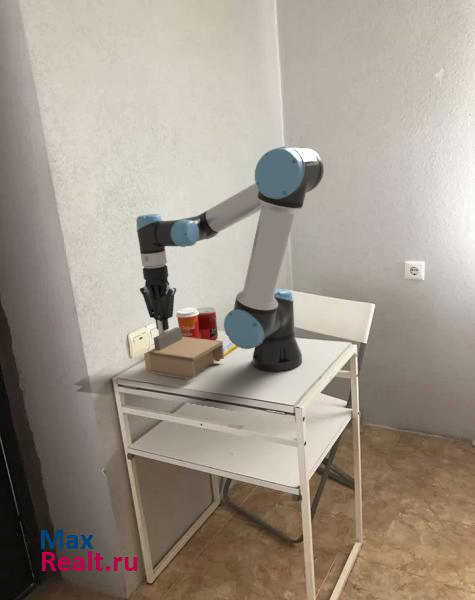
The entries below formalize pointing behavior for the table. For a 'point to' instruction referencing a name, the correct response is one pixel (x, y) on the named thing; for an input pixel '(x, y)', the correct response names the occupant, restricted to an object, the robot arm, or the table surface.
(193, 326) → the paper cup
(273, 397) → the table surface
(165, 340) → the box lid
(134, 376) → the table surface
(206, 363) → the box
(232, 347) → the candy bar
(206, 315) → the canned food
